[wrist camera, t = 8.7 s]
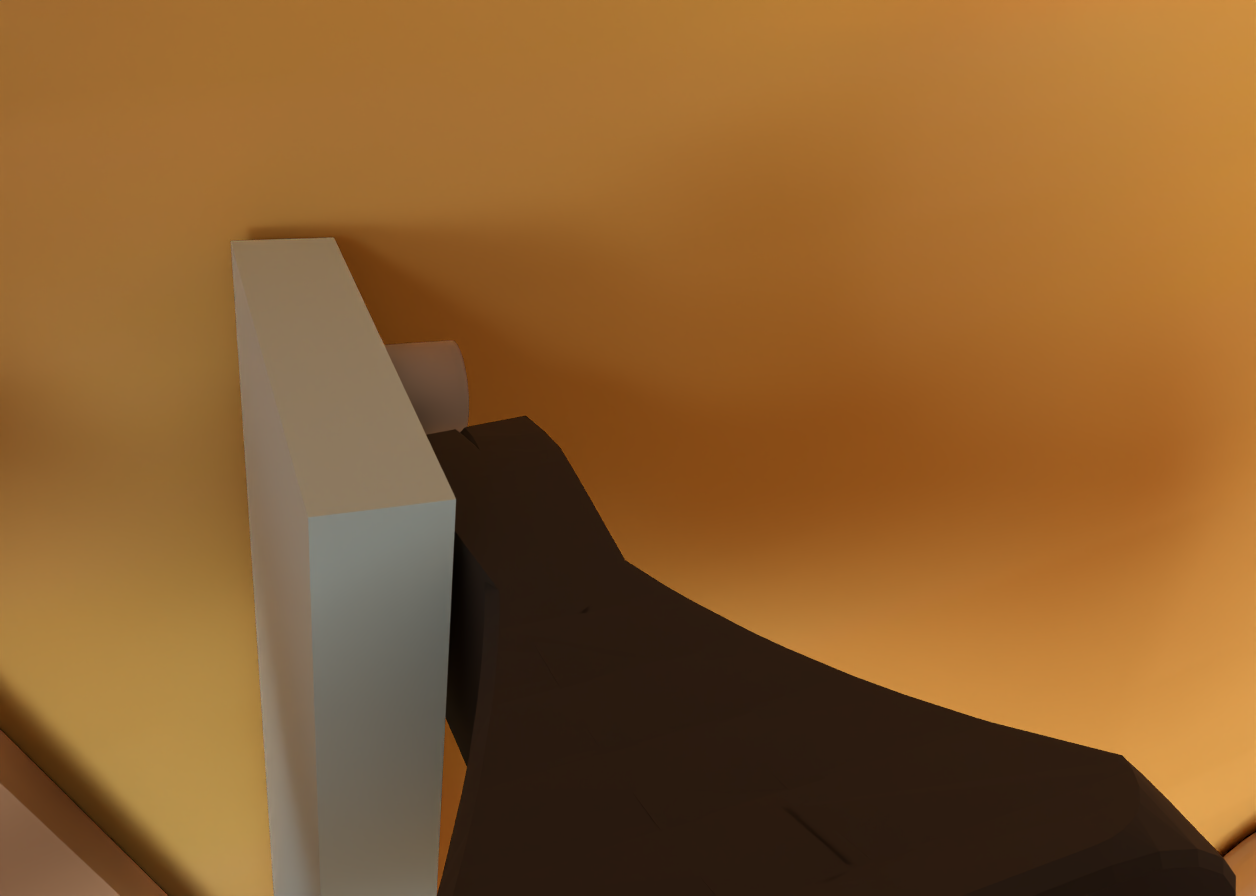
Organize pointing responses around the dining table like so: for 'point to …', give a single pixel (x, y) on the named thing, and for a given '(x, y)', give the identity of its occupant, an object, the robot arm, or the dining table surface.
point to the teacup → (1244, 866)
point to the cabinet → (56, 840)
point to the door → (346, 571)
